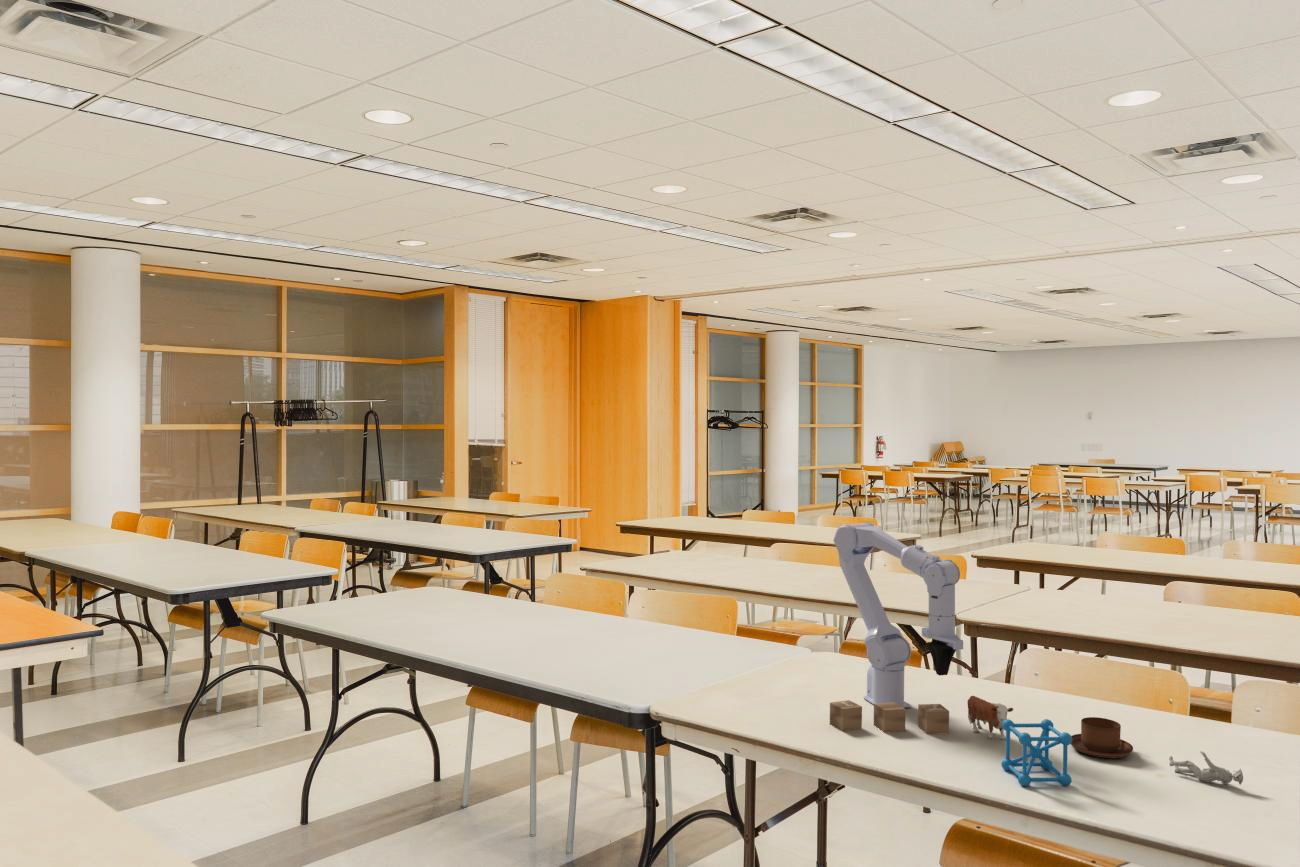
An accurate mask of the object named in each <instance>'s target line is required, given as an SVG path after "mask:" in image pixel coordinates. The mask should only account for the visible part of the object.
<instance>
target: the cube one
mask: <svg viewBox="0 0 1300 867" xmlns="http://www.w3.org/2000/svg"><path fill="white" fill-rule="evenodd" d="M829 725H830V726H831V725H832V726H831V727H833V726H834V727H833V728H835V729H837V730H839V731H841V732H842V731H843V732H848V731H847V730H850V731H854V729H857V730H862V729H861V728H863V727H862V725H863V706H862V705H860V704H857V703H855V702H854V701H851V700H849V699H848V700H839V701H832V702H829Z"/></svg>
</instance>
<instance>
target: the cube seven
mask: <svg viewBox="0 0 1300 867" xmlns="http://www.w3.org/2000/svg"><path fill="white" fill-rule="evenodd" d="M917 727H918V728H919V729H920V730H921V729H922V731H923V733H925V734H926V735H940V734H939V733H949V734H950V710H948V709H947V708H946V707H945V706H943V705H942V704H940V703H928V704H927V703H926V704H925V703H924V704H923V703H922V704H918V705H917Z"/></svg>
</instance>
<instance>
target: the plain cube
mask: <svg viewBox="0 0 1300 867" xmlns="http://www.w3.org/2000/svg"><path fill="white" fill-rule="evenodd" d="M873 726H874V727H875V726H876V727H875V728H877V729H878V728H879V729H880V730H879V729H878V730H879V731H881V730H882V731H883V732H882V731H881V732H882V733H883V734H885V733H886V732H889V733H899V732H900V733H901V731H902V732H906V708H903V707H902V706H900V705H898V704H897V703H895V702H888V703H874V705H873Z"/></svg>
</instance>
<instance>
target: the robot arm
mask: <svg viewBox="0 0 1300 867" xmlns="http://www.w3.org/2000/svg"><path fill="white" fill-rule="evenodd" d="M833 543H834V545H835V548H836V550H837V552H838V553H837V554H838V560H839V566H840V569H841V571H842V573H843V575H844V578H845V581H846V582H847V584H848V585H847V586H848V587H849V590H850V592H851V594H852V597H853V599H854V601H855V603H856V606H857V608H858V611H859V613H860V615H861V618H862V620H863V622H864V625H865V627H866V629H867V634H866V635H865V638H864V640H863V642H864V644H865V648H866V655H867V659H868V662H869V663H870V666H869V667H868V669H867V672H866V695H863V697H862V698H864V699H865V701H868V702H869V703H870V704H872V705H873V706H874V703H888V702H895V703H897V704H898V705H900V706H902V707H903V708H905V709H906V708H912V705H911V704H910V703H908V702H906V701H905V667H906V666H907V662H908V661H909V660H910V658H911V657H912V656H911V655H912V648H911V644H910V642H909V641H908V640H907V639H906V637H904V635H902V632H901V630H900V629H899V628H898V627H896V626H894V625H893V624H891V623H890V621H889V618H888V616H887V614H886V611H885V610H884V607H883V605H882V602H881V601H880V598H879V596H878V593H877V591H876V588H875V586H874V584H873V582H872V579H871V577H870V575H869V573H868V570H867V569H866V566H865V563H866V559H868V557H869V555H870V554H871V552H872V551H873V550H874V548H877V549H879V550H881V551H883V552H885V553H887V554H889V555H891V556H893V557H895V558H897V559H899V560H900V563H901V565H902V567H903V568H905V569H907V570H908V571H910V572H912V573H914V574H916V575H917V576H919V577H920V578H922V579H923V581H924V583H925V585H926V589H927V594H928V626H927V627H921V636H922V637H924V638H925V639H929V640H930V639H932V640H931V641H928V642H926V643H925V644H926V647H927V649H928V651H929V653H930V655H931V658H932V662H933V666H934V669H935V673H936V675H938V676H947V675H948V674H949V671H950V666H951V662H952V659H953V657H954V655H955V653H956V651H957V650H958V651H959V650H964V640H962V639H961V638H960V637H959V636H958V635H957V634H956V584H958V583H959V580H960V579H961V571H960V567H959V566H958V565H957V563H955V562H954V561H953V560H951V559H944V560H942V559H941V558H940V556H939V555H937V554H935V555H934V554H932V553H930V552H928V551H927V550H924V546H922V545H921V544H917V545H915V544H913V545H909V546H907V545H905V544H904V543H902V542H901V541H900V540H898V539H896V538H895V537H893V536H891V535H890V534H888V533H886V531H884V530H882V529H881V527H880V526H878V525H875V524H874V523H872V522H870V521H865V522H863V523H862V522H861V523H851V524H847V523H844V524H841V525H840V526H838V528H837V529H836V532H835V534H834V537H833Z"/></svg>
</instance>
